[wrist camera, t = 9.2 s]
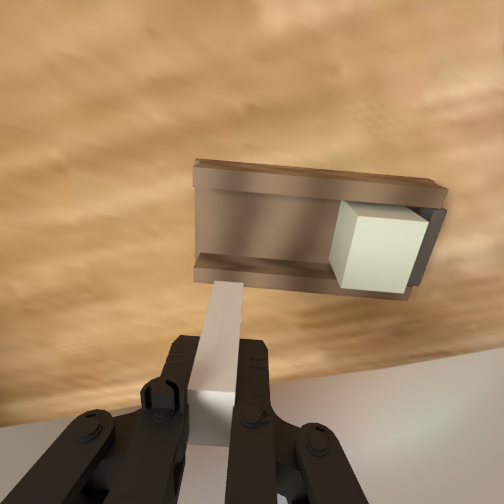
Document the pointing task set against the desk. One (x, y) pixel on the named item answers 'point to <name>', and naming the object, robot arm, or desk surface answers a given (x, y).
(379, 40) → the desk surface
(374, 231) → the block
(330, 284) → the chute
